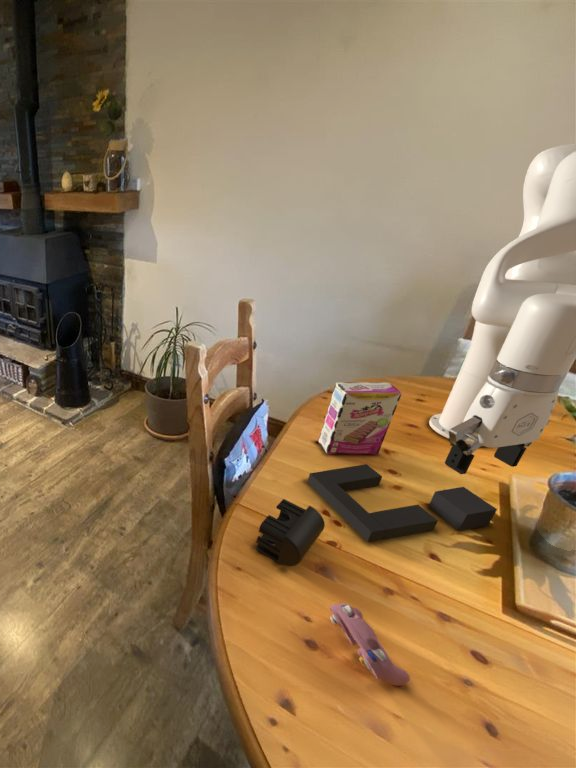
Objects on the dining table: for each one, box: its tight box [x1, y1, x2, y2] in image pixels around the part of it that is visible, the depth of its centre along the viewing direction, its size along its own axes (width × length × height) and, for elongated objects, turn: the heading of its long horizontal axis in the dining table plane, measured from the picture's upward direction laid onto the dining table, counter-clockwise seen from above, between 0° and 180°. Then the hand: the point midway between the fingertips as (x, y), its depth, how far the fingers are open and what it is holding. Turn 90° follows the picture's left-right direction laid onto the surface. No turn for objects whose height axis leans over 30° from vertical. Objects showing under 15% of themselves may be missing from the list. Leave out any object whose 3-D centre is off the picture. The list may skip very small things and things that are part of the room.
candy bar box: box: [318, 382, 403, 455], centre depth 92 cm, size 11×5×16 cm, turn 84°
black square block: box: [427, 486, 498, 532], centre depth 76 cm, size 6×6×4 cm
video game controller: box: [328, 602, 411, 687], centre depth 56 cm, size 10×5×7 cm, turn 5°
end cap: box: [255, 498, 326, 567], centre depth 72 cm, size 10×7×7 cm
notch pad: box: [307, 463, 439, 543], centre depth 80 cm, size 13×16×2 cm
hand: (479, 465), depth 71 cm, fingers open, 9 cm apart
